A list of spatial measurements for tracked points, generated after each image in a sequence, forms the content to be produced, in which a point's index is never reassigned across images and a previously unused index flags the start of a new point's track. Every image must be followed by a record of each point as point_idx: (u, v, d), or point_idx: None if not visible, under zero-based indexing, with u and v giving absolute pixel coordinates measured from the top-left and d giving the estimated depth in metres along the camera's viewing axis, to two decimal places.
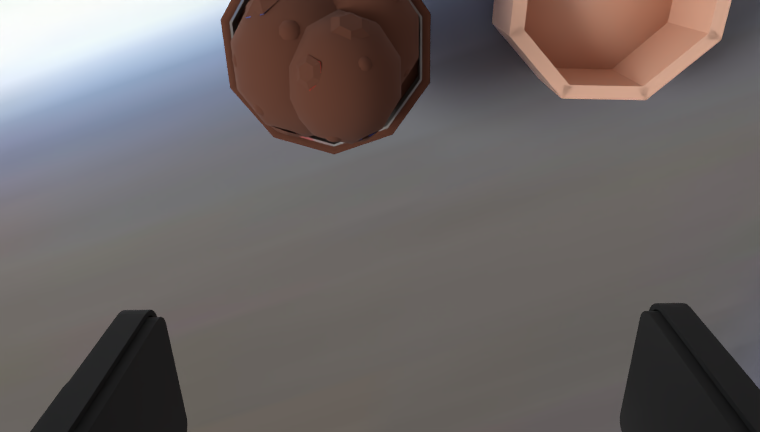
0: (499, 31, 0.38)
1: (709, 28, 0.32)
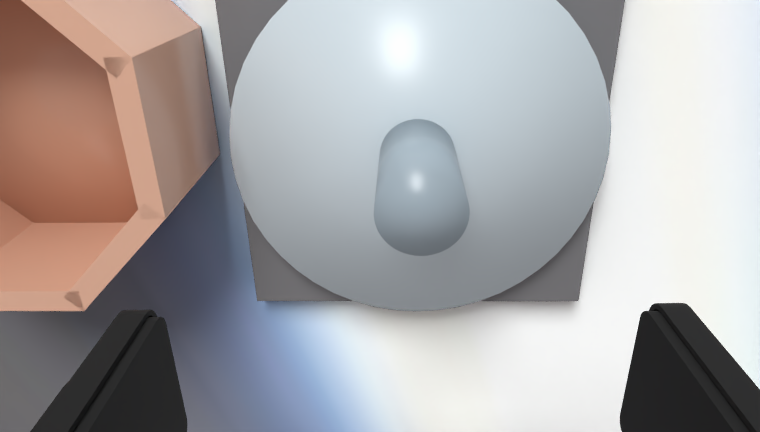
0: None
1: None
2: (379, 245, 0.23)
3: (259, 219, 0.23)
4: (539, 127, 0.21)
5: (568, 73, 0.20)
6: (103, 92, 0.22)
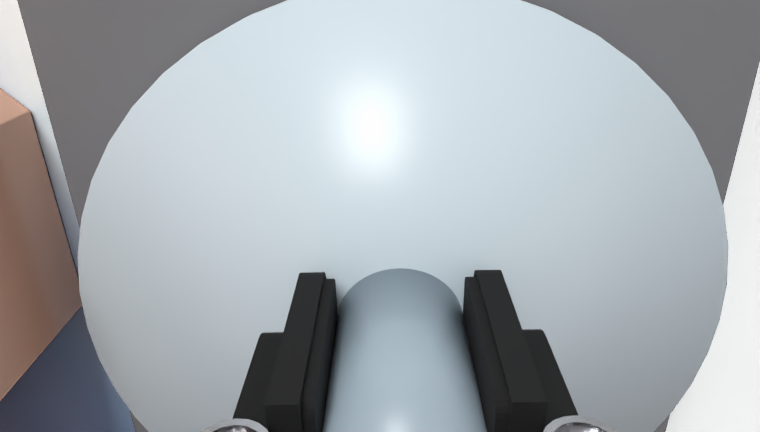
0: None
1: None
2: None
3: (144, 414, 0.14)
4: (606, 280, 0.12)
5: (661, 196, 0.11)
6: None
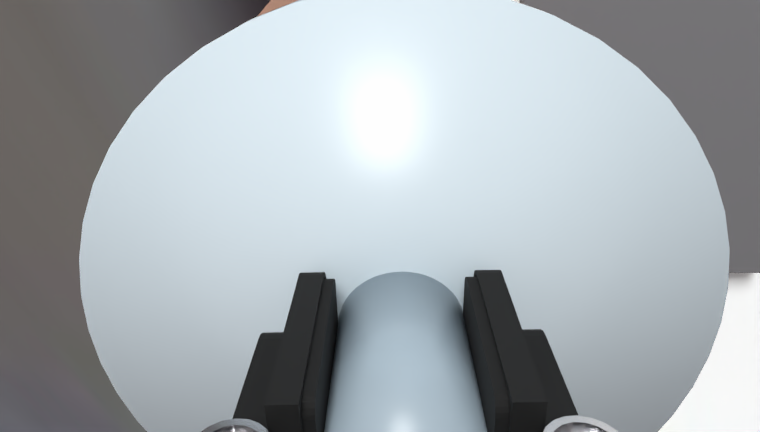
0: None
1: None
2: None
3: (146, 417, 0.14)
4: (607, 283, 0.12)
5: (662, 200, 0.11)
6: None
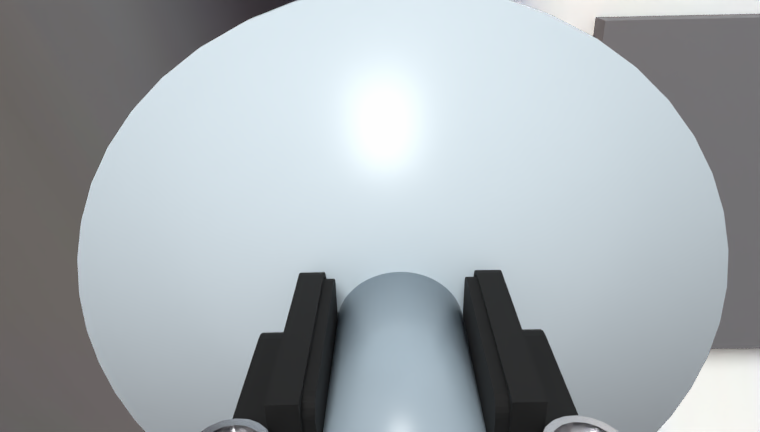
0: None
1: None
2: None
3: (144, 418, 0.14)
4: (606, 284, 0.12)
5: (661, 200, 0.11)
6: None
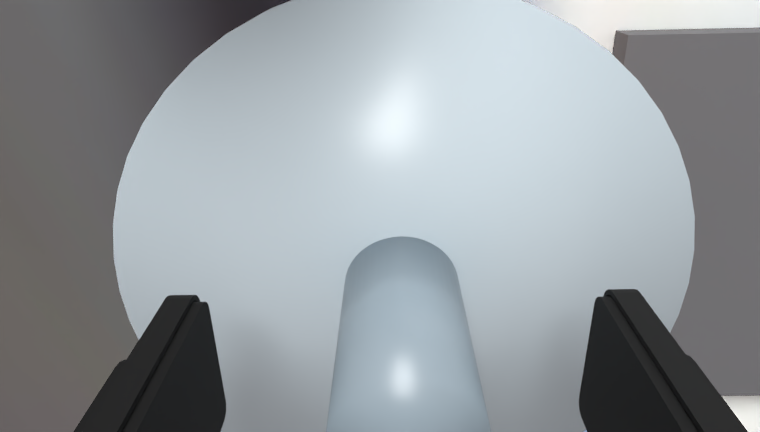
0: None
1: None
2: None
3: None
4: (586, 247, 0.14)
5: (633, 170, 0.13)
6: None
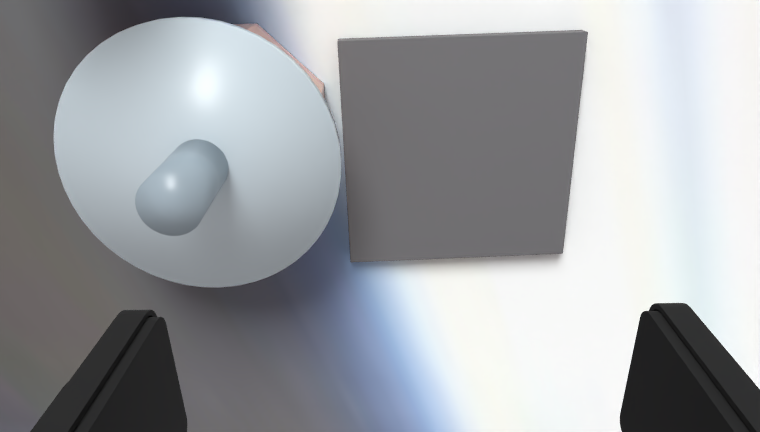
0: None
1: None
2: (182, 236, 0.30)
3: (87, 219, 0.29)
4: (286, 143, 0.28)
5: (299, 103, 0.27)
6: None
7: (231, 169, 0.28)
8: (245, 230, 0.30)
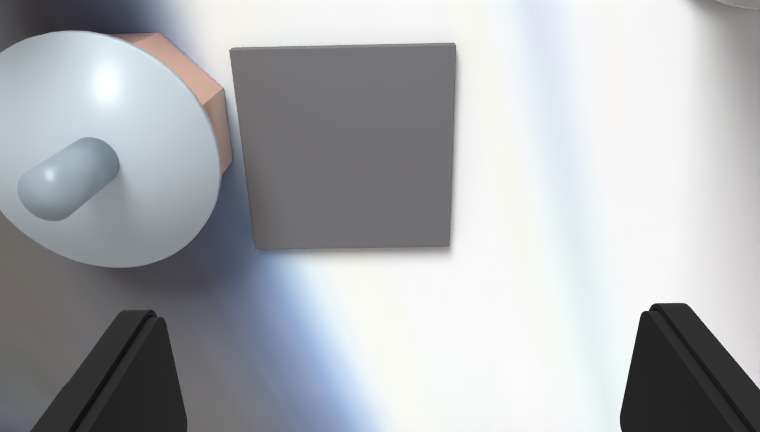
0: None
1: None
2: (84, 221, 0.34)
3: (0, 204, 0.34)
4: (167, 142, 0.32)
5: (176, 107, 0.31)
6: None
7: (121, 164, 0.32)
8: (138, 218, 0.34)
